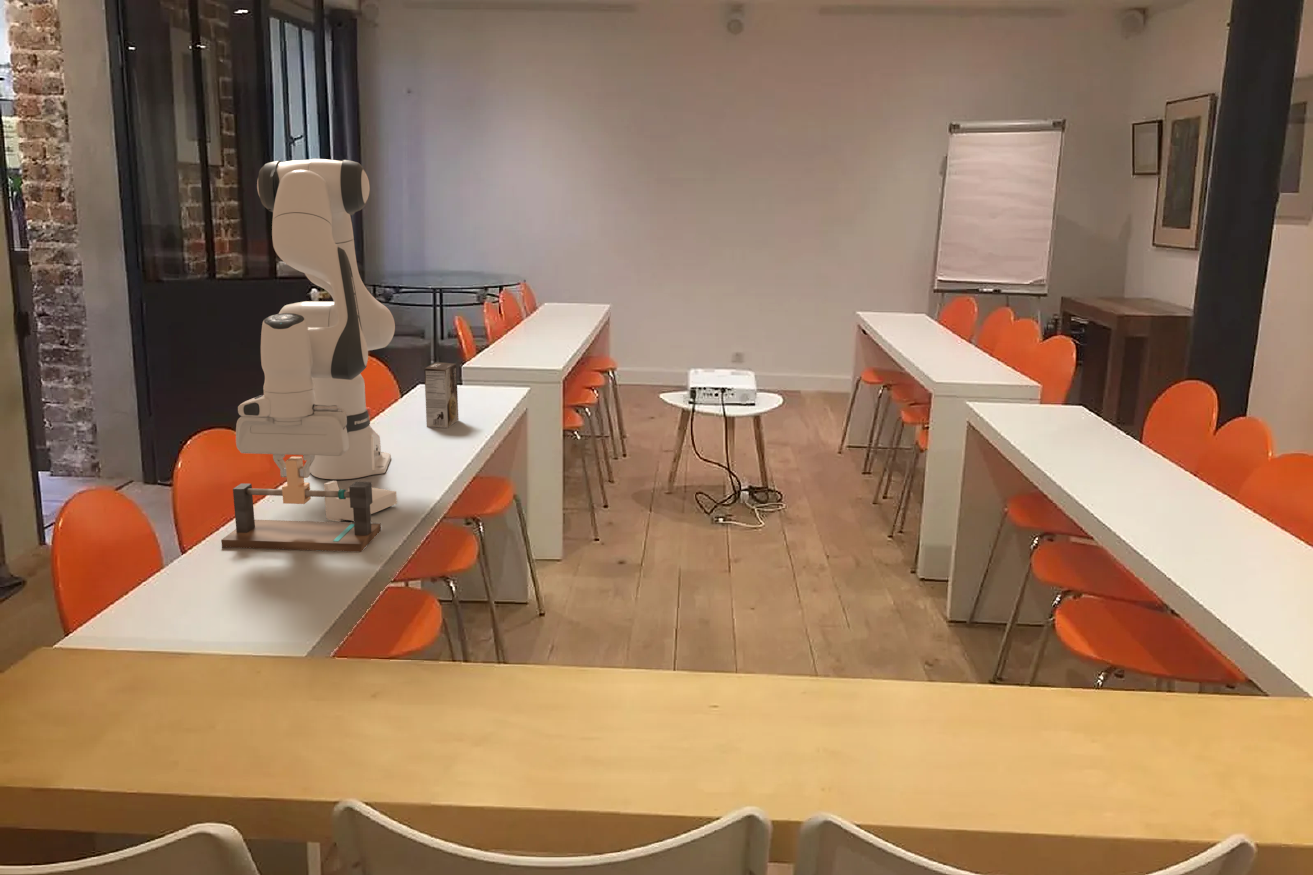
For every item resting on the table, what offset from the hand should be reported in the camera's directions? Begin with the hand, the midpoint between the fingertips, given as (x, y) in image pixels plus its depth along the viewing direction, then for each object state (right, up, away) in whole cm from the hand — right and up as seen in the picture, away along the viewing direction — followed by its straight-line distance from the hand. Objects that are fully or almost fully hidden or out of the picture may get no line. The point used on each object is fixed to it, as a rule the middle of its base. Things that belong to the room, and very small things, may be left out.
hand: (295, 476), depth 205 cm
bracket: (+7, -8, +19) cm, 22 cm away
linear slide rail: (+1, -12, +3) cm, 12 cm away
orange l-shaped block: (0, -5, +1) cm, 5 cm away
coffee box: (+9, +11, +96) cm, 97 cm away
